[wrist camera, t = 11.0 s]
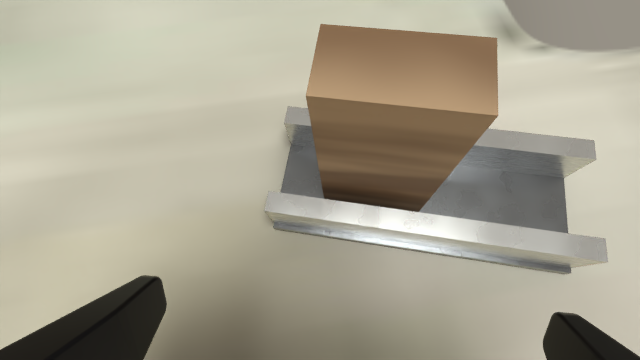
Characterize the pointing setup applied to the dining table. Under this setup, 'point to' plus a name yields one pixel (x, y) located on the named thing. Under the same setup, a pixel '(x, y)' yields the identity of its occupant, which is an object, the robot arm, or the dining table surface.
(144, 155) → the dining table surface
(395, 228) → the door track
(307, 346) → the dining table surface
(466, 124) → the door panel
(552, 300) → the dining table surface
